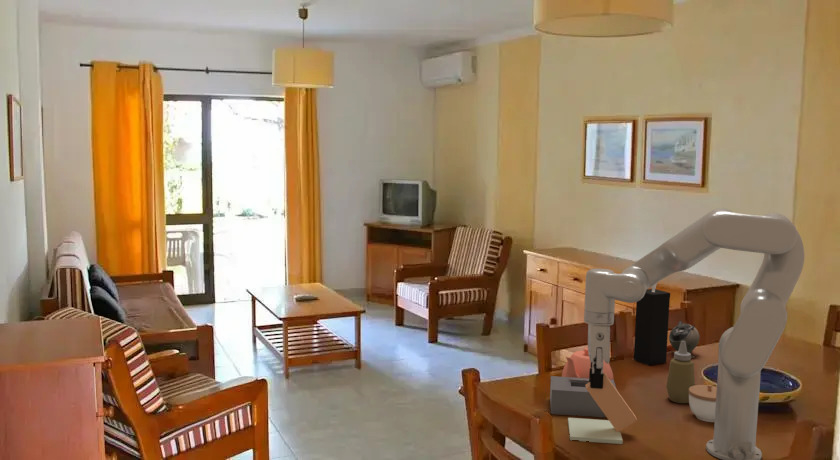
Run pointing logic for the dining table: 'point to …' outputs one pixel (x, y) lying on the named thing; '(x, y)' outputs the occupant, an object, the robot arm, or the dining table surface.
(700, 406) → the lidded jar
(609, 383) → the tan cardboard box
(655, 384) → the dining table surface
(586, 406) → the dispenser
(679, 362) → the squeeze bottle
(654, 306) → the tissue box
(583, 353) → the teapot
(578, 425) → the mat
